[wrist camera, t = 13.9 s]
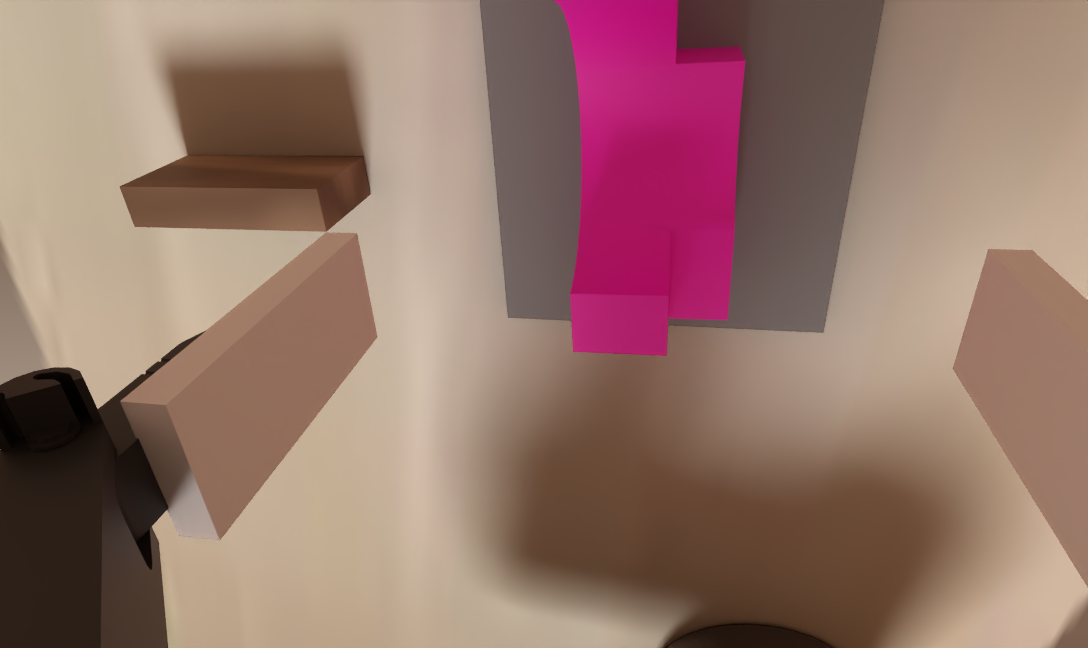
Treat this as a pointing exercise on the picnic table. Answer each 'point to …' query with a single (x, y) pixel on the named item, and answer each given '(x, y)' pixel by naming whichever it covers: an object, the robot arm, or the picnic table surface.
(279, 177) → the block
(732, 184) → the toy block
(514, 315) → the slate mat
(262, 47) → the picnic table surface
